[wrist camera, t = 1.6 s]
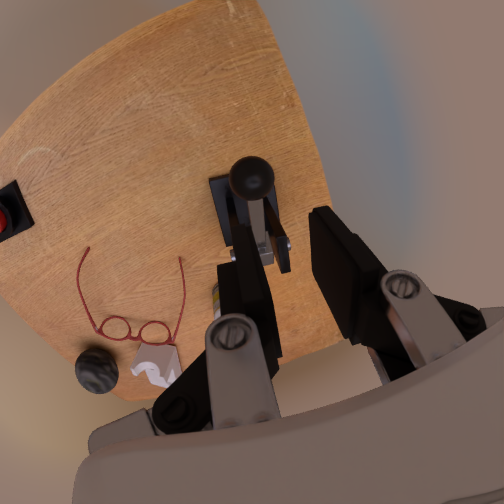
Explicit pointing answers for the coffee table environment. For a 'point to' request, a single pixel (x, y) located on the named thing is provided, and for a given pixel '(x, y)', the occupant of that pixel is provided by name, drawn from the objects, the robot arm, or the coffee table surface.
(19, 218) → the control block
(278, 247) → the bracket
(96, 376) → the decorative stone
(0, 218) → the button
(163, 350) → the bracket
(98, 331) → the red eyeglasses
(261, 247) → the lever
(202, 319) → the coffee table surface
